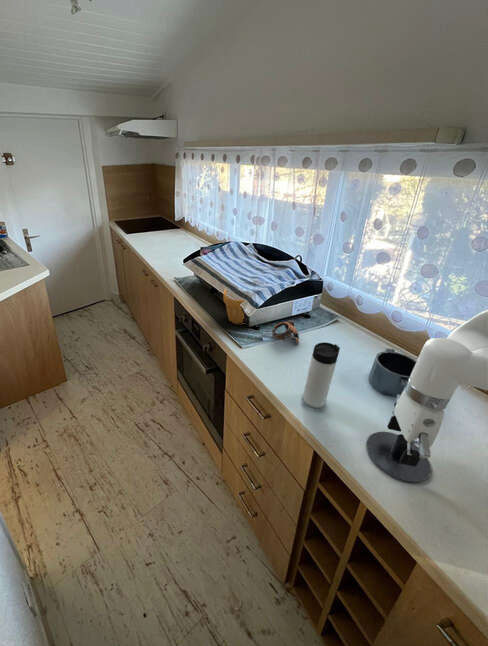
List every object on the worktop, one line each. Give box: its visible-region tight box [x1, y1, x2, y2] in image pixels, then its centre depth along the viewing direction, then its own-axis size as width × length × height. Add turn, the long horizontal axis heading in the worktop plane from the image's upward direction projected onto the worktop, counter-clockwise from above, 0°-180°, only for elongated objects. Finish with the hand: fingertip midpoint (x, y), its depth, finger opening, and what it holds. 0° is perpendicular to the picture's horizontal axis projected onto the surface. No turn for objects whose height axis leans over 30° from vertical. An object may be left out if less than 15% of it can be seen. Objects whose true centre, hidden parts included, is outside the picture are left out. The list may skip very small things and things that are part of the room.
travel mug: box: [302, 342, 341, 410], centre depth 87 cm, size 6×7×20 cm
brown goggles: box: [271, 319, 300, 345], centre depth 119 cm, size 12×10×8 cm
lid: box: [365, 431, 432, 484], centre depth 73 cm, size 13×13×7 cm
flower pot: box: [223, 288, 246, 325], centre depth 131 cm, size 14×14×13 cm
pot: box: [368, 347, 417, 399], centre depth 95 cm, size 12×18×8 cm
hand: (400, 445), depth 73 cm, fingers open, 9 cm apart
